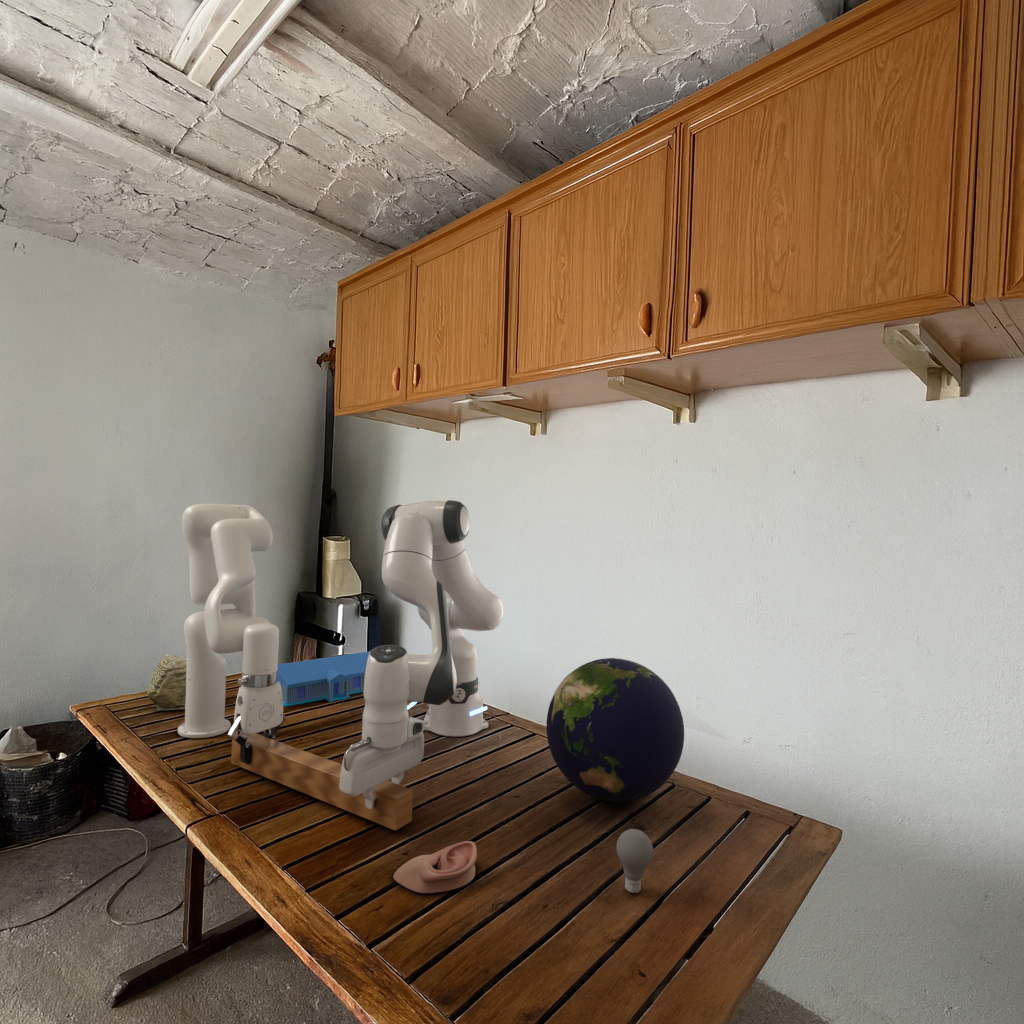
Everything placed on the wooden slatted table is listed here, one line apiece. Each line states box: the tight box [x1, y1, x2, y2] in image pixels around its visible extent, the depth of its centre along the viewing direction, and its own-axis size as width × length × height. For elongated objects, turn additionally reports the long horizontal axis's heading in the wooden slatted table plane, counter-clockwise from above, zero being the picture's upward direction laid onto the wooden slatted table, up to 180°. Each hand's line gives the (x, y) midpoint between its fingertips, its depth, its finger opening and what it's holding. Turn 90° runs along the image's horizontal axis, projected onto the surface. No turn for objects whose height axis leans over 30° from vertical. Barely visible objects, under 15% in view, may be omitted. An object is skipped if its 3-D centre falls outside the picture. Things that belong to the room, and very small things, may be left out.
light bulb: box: [615, 828, 654, 894], centre depth 106 cm, size 6×6×10 cm
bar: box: [230, 733, 414, 831], centre depth 134 cm, size 50×5×6 cm, turn 58°
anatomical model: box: [392, 840, 478, 894], centre depth 108 cm, size 13×4×12 cm
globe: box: [545, 657, 685, 803], centre depth 140 cm, size 30×30×30 cm
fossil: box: [147, 654, 187, 712], centre depth 185 cm, size 9×18×15 cm, turn 132°
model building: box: [277, 650, 371, 707], centre depth 208 cm, size 39×24×10 cm, turn 132°
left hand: (256, 757), depth 144 cm, fingers closed on bar, 4 cm apart
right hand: (382, 800), depth 124 cm, fingers closed on bar, 5 cm apart
